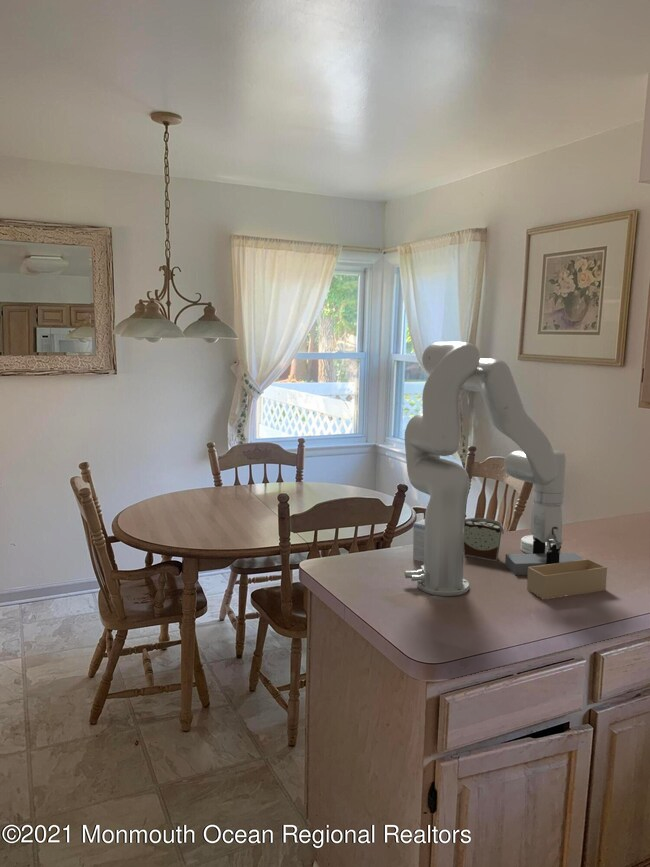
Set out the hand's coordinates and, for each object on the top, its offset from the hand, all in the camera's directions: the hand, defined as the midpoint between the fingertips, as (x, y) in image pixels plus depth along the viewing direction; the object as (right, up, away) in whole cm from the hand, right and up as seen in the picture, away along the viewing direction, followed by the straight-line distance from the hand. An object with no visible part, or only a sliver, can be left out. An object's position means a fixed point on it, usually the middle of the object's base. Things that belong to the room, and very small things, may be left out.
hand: (545, 560), depth 168 cm
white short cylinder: (+3, -1, +15) cm, 16 cm away
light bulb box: (-28, -1, +10) cm, 30 cm away
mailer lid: (0, -2, 0) cm, 2 cm away
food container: (-14, -1, +12) cm, 18 cm away
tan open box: (0, -5, -14) cm, 15 cm away
